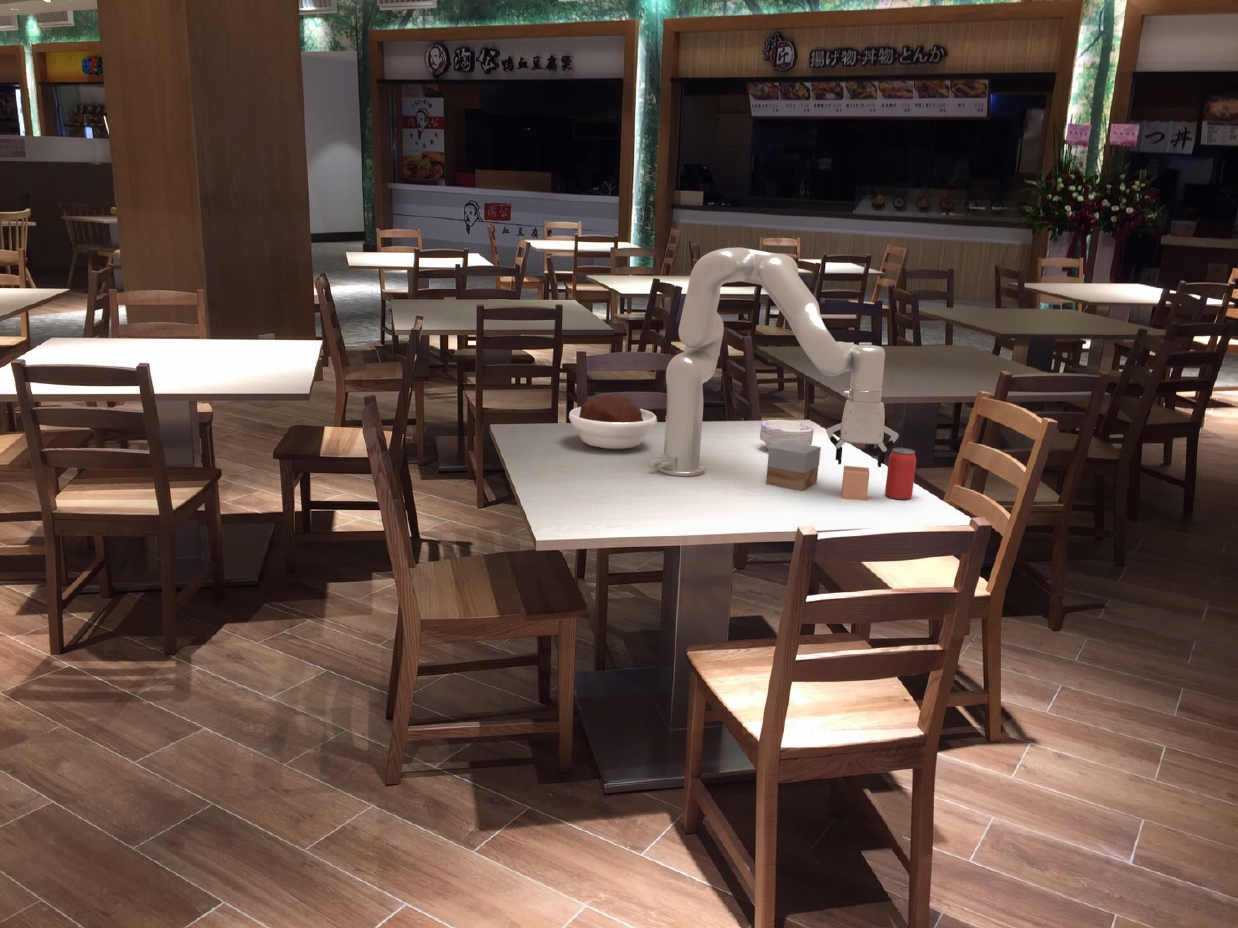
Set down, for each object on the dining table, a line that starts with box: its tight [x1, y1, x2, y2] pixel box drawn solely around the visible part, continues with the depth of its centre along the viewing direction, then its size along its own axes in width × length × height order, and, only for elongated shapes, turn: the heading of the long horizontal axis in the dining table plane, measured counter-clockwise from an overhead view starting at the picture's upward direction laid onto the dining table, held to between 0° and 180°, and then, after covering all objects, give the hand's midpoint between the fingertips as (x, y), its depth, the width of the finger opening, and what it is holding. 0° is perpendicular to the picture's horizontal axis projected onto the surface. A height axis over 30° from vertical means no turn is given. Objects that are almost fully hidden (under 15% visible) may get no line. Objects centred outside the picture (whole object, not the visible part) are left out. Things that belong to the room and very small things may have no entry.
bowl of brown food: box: [568, 394, 657, 450], centre depth 294 cm, size 25×25×15 cm
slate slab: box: [767, 441, 822, 473], centre depth 263 cm, size 10×10×5 cm
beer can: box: [884, 447, 917, 501], centre depth 256 cm, size 7×7×12 cm
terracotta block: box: [840, 465, 870, 502], centre depth 255 cm, size 6×6×7 cm
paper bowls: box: [759, 419, 815, 450], centre depth 299 cm, size 15×15×8 cm
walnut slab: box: [765, 465, 819, 492], centre depth 264 cm, size 10×10×5 cm
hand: (859, 464), depth 254 cm, fingers open, 9 cm apart
